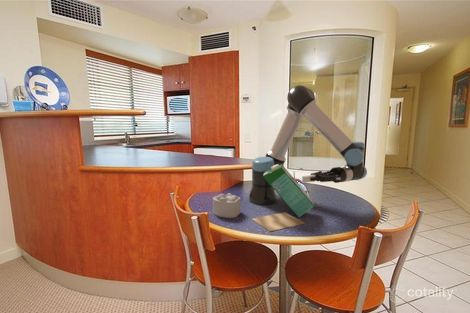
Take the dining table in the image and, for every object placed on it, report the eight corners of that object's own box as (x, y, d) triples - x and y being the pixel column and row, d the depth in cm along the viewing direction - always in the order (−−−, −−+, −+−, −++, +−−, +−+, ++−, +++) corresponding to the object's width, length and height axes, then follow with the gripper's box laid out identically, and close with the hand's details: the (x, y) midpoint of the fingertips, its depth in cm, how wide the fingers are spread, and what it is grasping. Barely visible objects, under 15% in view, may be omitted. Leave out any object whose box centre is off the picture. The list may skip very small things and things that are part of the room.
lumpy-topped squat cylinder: (234, 218, 110) (234, 200, 109) (208, 214, 115) (208, 196, 114) (242, 211, 120) (242, 193, 118) (218, 207, 124) (218, 191, 123)
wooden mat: (284, 212, 117) (284, 212, 117) (305, 223, 105) (305, 222, 105) (252, 219, 109) (252, 218, 109) (269, 231, 97) (269, 231, 97)
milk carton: (314, 206, 109) (277, 163, 109) (298, 217, 111) (262, 175, 112) (312, 199, 117) (278, 160, 118) (297, 210, 120) (264, 171, 120)
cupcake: (285, 188, 159) (286, 170, 158) (296, 187, 163) (296, 169, 161) (293, 192, 152) (294, 173, 150) (304, 190, 155) (305, 171, 153)
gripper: (330, 164, 126) (294, 168, 115) (352, 169, 114) (314, 173, 104) (329, 179, 127) (293, 184, 117) (351, 184, 115) (313, 191, 105)
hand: (303, 179), depth 110 cm, fingers closed
